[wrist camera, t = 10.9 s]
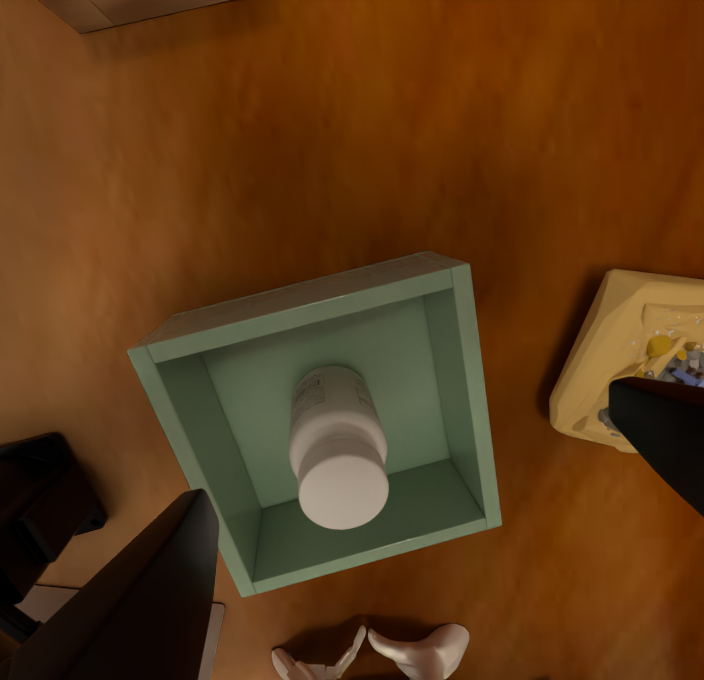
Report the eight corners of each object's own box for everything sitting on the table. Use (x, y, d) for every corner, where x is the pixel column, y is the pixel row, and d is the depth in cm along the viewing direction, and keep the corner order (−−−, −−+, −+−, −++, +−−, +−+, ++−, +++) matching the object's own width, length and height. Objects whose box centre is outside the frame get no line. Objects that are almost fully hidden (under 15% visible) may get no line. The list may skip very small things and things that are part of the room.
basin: (254, 515, 24) (241, 599, 19) (172, 314, 20) (124, 350, 14) (460, 459, 25) (502, 525, 19) (427, 249, 20) (470, 263, 15)
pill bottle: (288, 431, 22) (280, 540, 15) (295, 360, 21) (290, 441, 13) (363, 435, 23) (391, 542, 15) (374, 367, 21) (412, 447, 14)
